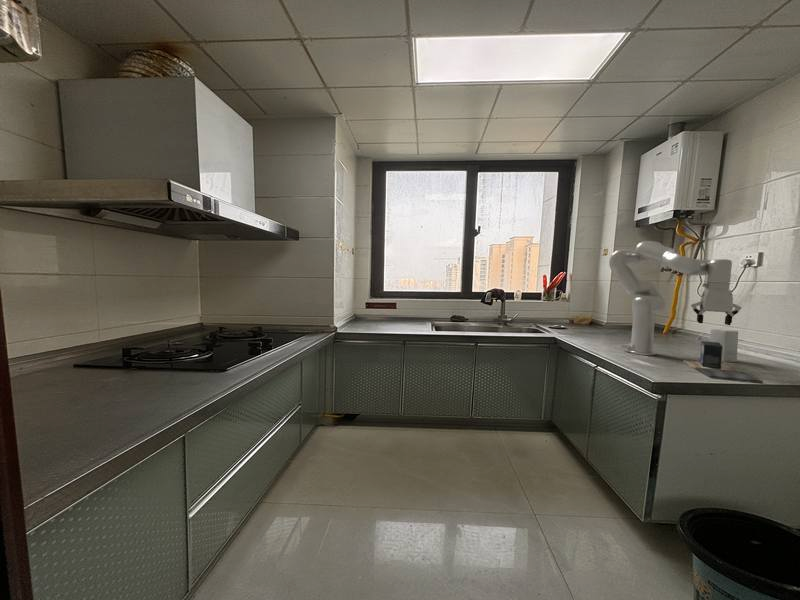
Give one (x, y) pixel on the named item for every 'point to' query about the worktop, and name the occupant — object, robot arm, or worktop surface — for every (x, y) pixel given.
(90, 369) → the worktop surface
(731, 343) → the skincare box
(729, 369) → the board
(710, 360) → the small box
